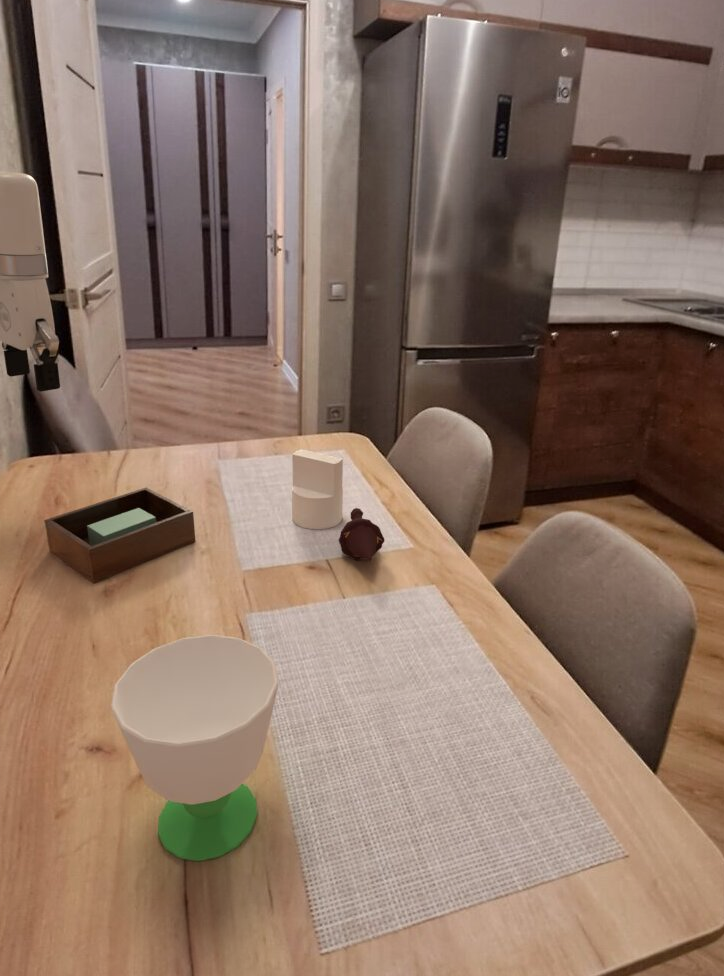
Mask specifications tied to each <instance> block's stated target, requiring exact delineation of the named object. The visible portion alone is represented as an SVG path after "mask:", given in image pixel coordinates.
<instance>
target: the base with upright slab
mask: <svg viewBox="0 0 724 976" xmlns="http://www.w3.org/2000/svg"><path fill="white" fill-rule="evenodd" d="M291 458H292V486H291V505H292V506H291V512H292V513H291V517H292V522H293V523H294V524H295V525H297V526H299V527H301V528H303V529H308V530H326V529H329V528H333V527H336V526H338V525H339V524H340V523H341V522H342V520H343V500H344V499H343V498H344V496H343V495H344V487H343V473H344V471H343V469H344V468H343V467H344V466H343V465H344V458H342V457H338V456H334V455H330V454H325V453H322V452H316V451H311V450H308V449H303V448H301V449H298V450H295V451H294V452H293V453H292V457H291Z"/></svg>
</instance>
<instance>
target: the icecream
mask: <svg viewBox="0 0 724 976" xmlns="http://www.w3.org/2000/svg"><path fill="white" fill-rule="evenodd" d="M363 515H364V512H363V510H362V509H361V508H358V507H354V508H353V509H352V510H351V512H350V521H348V522H346V523H345V525H344V526H343V528H342V529H341V531H340V534H339V538H338V542H339V546H340V549H341V552H342V554H343V555H345V556H346V557H349V558H351V559H353V560H355V561H360V560H366V561H368V562H371V561H372V560H373V557H374V556H375V555H376V554H377V552H378V551H380V550H381V549H382V547H383V544H384V543H385V538H384V536H383V534H382V531H381V528H380V527H379V525H377V524H375V523H373V522H372V521H371V520H370V519H367V518H363Z"/></svg>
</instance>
